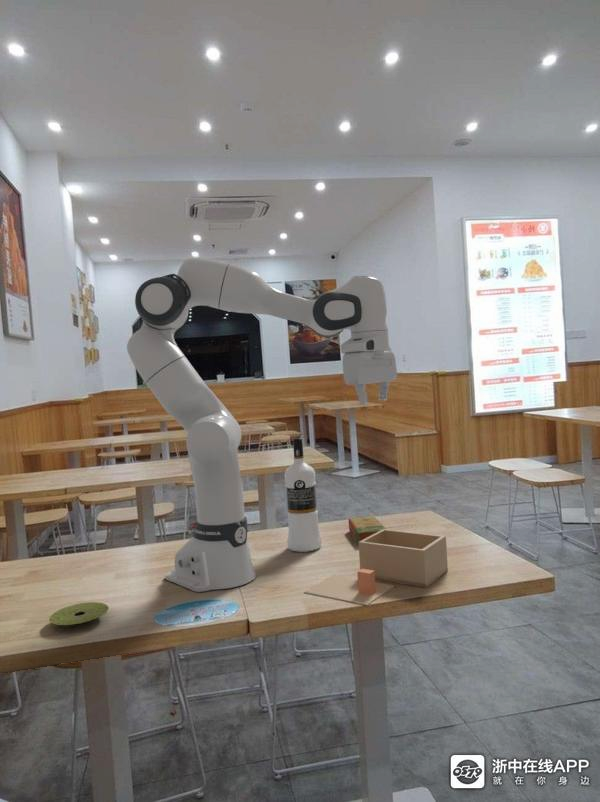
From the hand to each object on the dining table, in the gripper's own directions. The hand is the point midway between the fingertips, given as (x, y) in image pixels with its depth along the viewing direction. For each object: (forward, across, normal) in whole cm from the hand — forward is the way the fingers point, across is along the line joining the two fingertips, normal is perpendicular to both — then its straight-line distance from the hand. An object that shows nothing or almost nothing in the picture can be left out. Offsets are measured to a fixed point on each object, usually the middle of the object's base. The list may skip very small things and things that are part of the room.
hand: (373, 402), depth 141 cm
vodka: (+39, -2, -25) cm, 47 cm away
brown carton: (+39, +5, +8) cm, 40 cm away
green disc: (+39, +58, -38) cm, 80 cm away
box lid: (+40, +19, +2) cm, 44 cm away
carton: (+40, -18, -14) cm, 46 cm away
